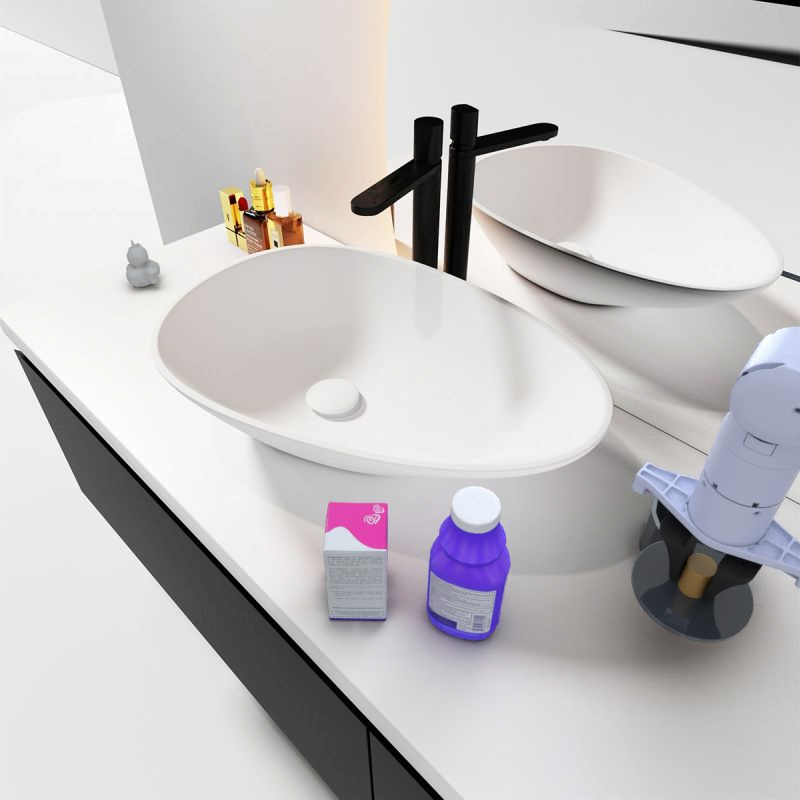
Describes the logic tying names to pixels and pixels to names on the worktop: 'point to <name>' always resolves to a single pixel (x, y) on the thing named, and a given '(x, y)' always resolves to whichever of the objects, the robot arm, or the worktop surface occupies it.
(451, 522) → the bottle
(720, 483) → the robot arm
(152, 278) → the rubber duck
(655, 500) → the pot
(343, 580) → the supplement box
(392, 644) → the worktop surface
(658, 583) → the lid
